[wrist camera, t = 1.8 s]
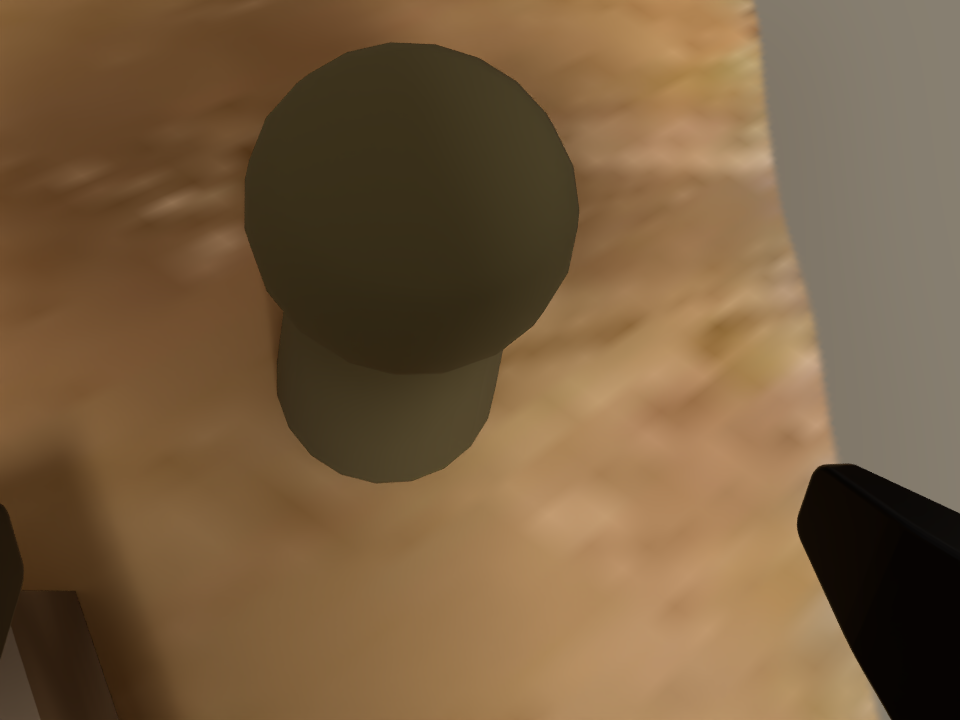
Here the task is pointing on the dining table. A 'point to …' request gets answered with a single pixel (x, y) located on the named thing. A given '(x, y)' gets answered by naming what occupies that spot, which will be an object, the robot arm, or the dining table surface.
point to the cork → (404, 249)
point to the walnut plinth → (51, 663)
